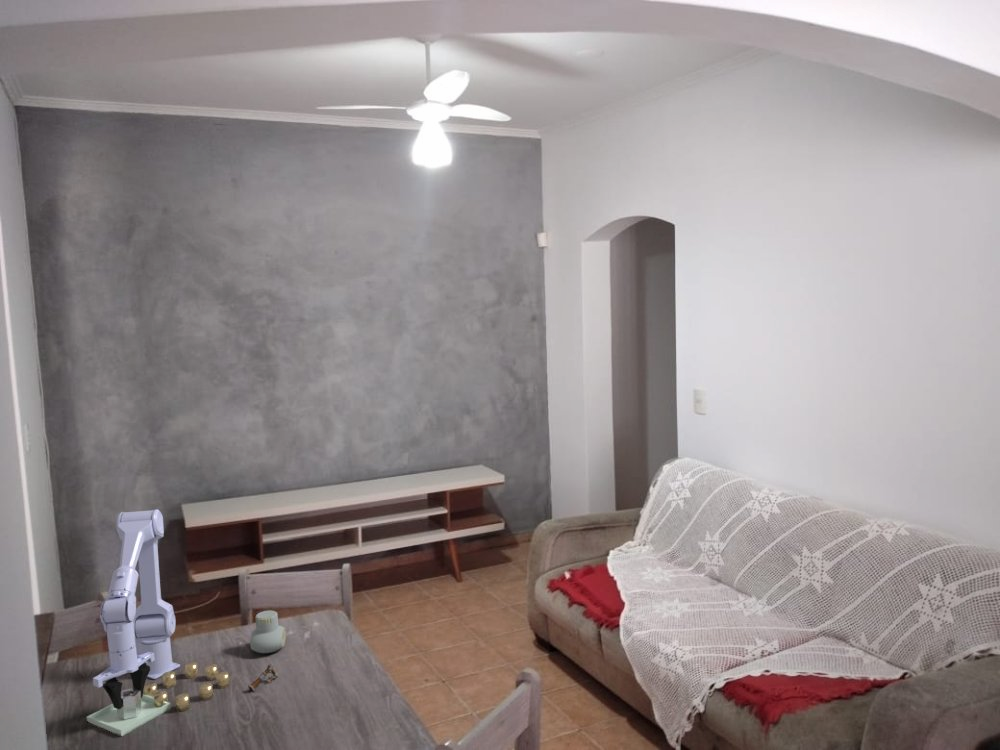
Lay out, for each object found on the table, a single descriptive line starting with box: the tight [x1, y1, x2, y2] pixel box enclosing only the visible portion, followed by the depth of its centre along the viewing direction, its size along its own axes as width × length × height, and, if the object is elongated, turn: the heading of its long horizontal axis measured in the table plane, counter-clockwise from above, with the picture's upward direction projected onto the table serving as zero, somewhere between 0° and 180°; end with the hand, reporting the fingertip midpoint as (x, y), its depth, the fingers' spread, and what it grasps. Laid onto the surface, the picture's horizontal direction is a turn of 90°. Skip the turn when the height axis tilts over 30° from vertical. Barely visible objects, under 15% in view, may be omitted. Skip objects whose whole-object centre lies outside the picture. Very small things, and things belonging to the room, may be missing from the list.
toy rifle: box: [247, 662, 279, 693], centre depth 200 cm, size 2×8×4 cm, turn 142°
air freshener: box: [249, 609, 287, 654], centre depth 220 cm, size 11×8×10 cm
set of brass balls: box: [143, 661, 231, 713], centre depth 198 cm, size 17×18×3 cm
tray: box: [86, 693, 172, 737], centre depth 188 cm, size 13×13×2 cm
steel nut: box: [117, 687, 142, 719], centre depth 188 cm, size 5×4×5 cm
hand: (128, 702), depth 188 cm, fingers open, 5 cm apart
